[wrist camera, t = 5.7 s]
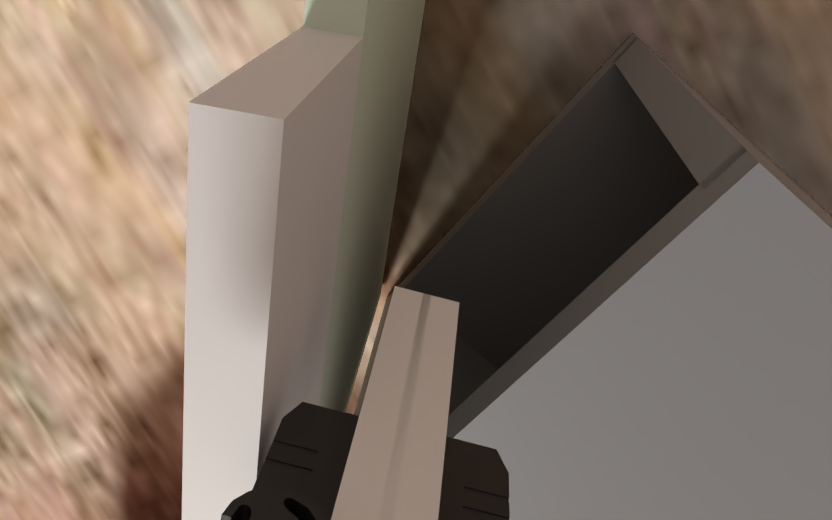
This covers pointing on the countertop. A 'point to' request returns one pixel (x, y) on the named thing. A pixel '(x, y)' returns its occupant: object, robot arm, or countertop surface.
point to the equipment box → (642, 314)
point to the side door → (288, 232)
